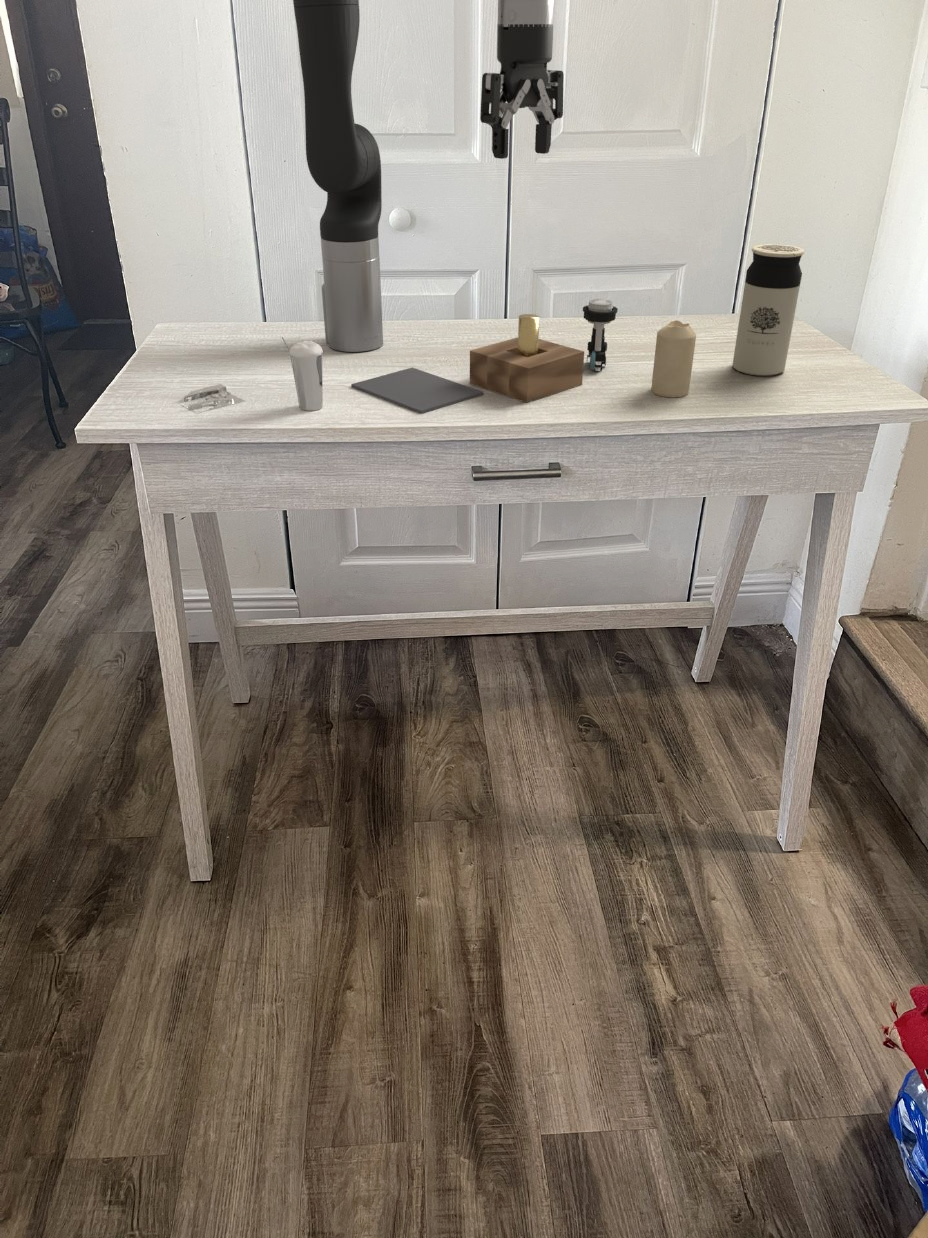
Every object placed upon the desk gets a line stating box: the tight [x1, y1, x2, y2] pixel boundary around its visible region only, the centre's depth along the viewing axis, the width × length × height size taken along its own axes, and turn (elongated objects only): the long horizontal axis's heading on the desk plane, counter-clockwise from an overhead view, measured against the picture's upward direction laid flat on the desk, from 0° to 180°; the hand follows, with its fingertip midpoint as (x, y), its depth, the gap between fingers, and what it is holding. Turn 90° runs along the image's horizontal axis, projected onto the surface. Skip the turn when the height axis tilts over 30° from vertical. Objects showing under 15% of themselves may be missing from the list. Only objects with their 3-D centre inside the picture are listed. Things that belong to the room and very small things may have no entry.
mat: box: [351, 367, 484, 415], centre depth 140 cm, size 16×12×1 cm
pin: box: [517, 313, 540, 357], centre depth 140 cm, size 3×3×10 cm
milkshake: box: [281, 336, 324, 412], centre depth 131 cm, size 4×5×10 cm
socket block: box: [469, 336, 585, 404], centre depth 141 cm, size 12×12×5 cm
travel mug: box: [732, 243, 805, 377], centre depth 144 cm, size 8×8×18 cm
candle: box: [650, 319, 697, 398], centre depth 137 cm, size 6×6×10 cm
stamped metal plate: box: [180, 383, 246, 415], centre depth 136 cm, size 8×7×2 cm
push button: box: [582, 298, 619, 372], centre depth 147 cm, size 7×5×10 cm
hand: (521, 155), depth 135 cm, fingers open, 8 cm apart
